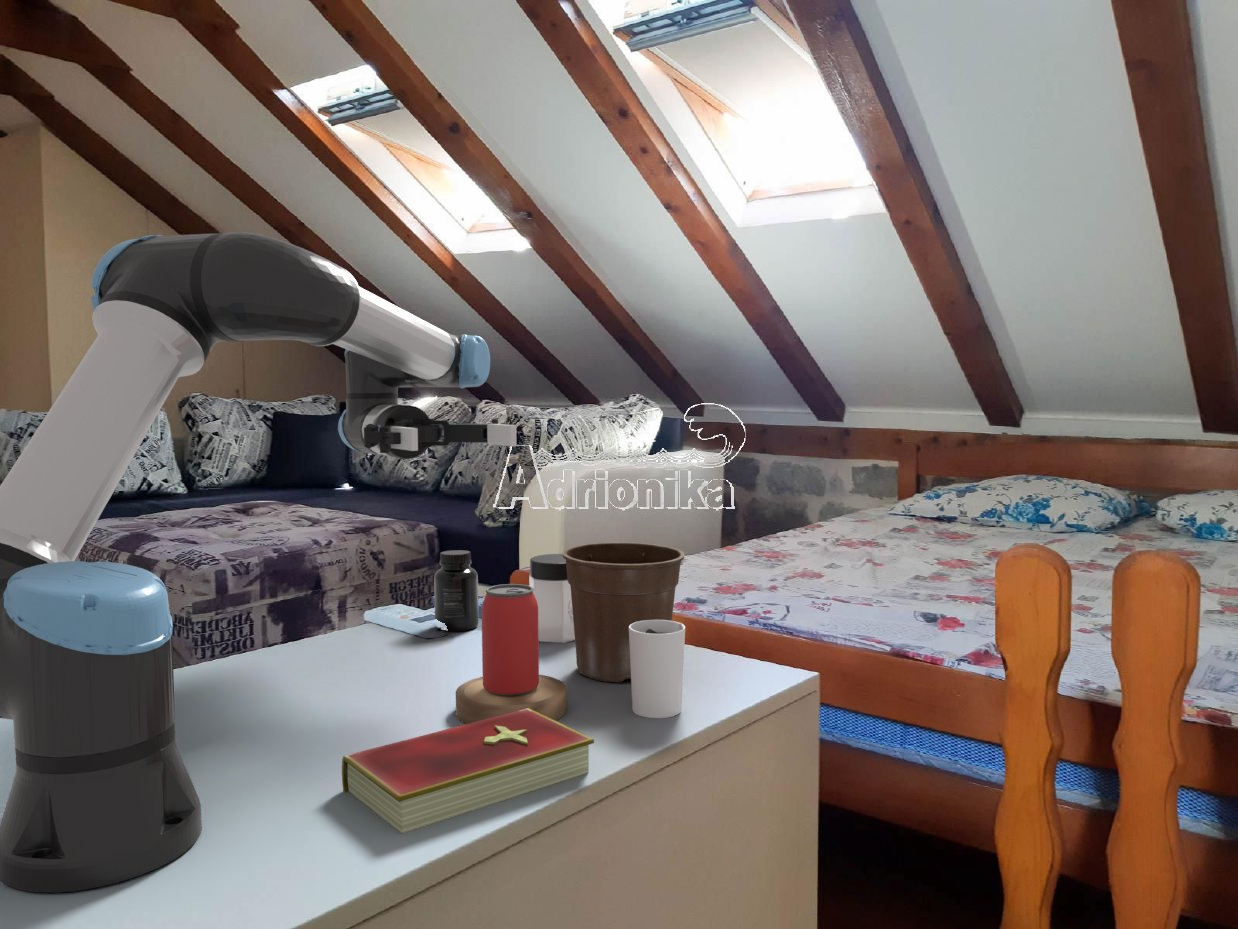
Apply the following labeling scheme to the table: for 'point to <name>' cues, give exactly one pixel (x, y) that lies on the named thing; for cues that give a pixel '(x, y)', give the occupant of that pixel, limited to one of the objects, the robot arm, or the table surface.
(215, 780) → the table surface
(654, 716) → the white cup
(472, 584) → the supplement bottle
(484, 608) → the beer can
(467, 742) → the hardcover book
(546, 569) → the jar
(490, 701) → the shallow wooden bowl
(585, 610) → the plant pot
